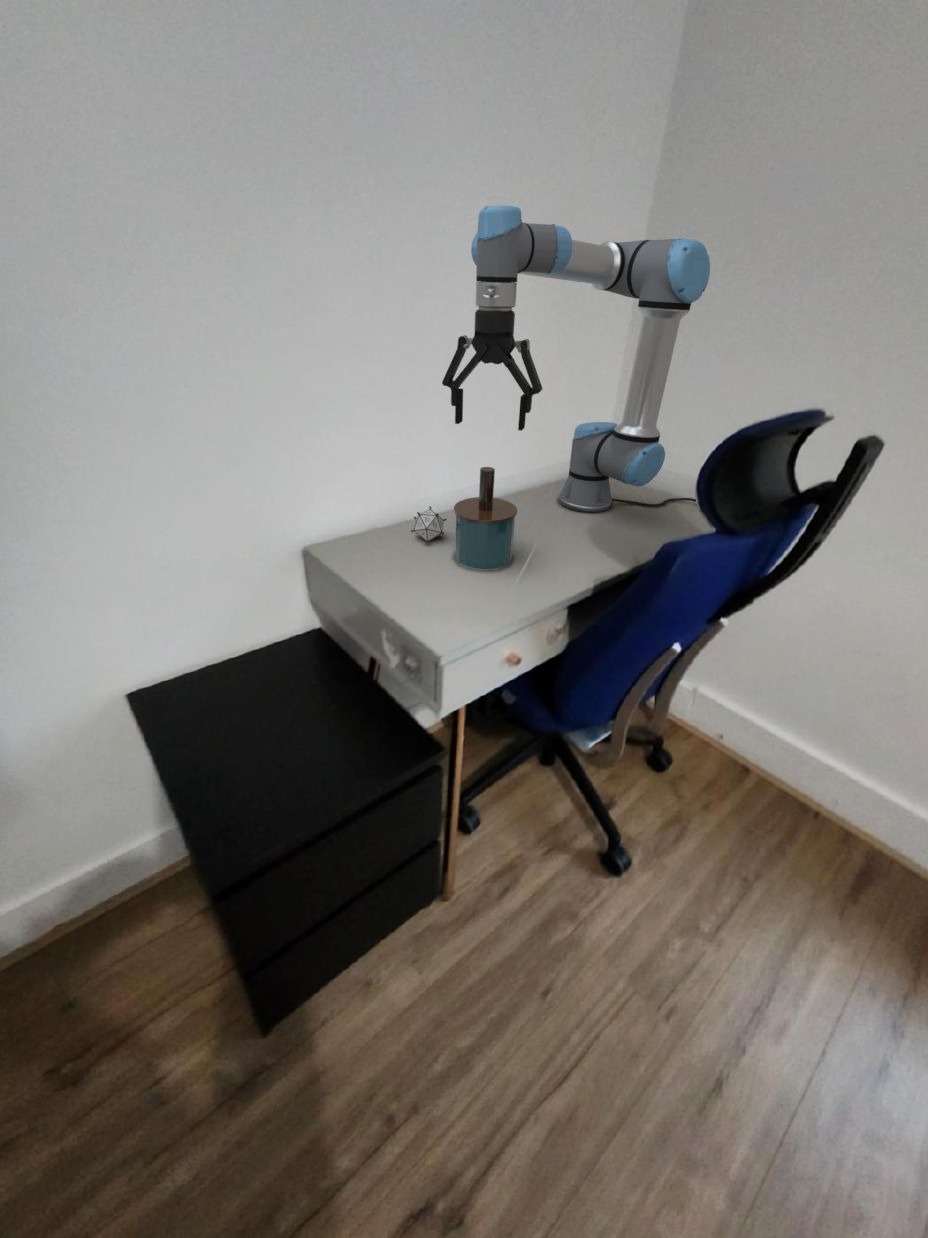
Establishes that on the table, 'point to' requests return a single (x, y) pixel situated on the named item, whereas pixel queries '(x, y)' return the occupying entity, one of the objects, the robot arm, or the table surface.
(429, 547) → the table surface
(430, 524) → the game die
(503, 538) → the crock
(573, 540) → the table surface
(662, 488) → the table surface
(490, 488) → the lid
